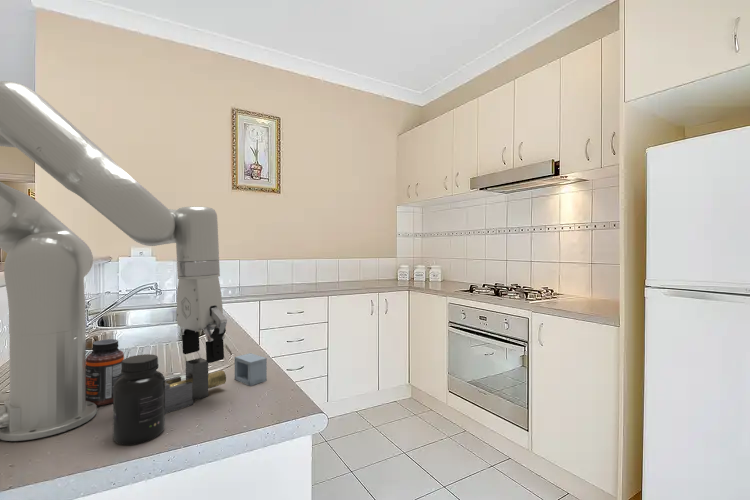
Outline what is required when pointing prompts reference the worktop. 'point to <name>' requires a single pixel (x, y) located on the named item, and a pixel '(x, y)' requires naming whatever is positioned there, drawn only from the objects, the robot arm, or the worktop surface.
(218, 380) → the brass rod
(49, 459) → the worktop surface
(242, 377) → the socket
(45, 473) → the worktop surface
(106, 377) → the supplement bottle
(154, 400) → the supplement bottle
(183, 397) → the sleeve
